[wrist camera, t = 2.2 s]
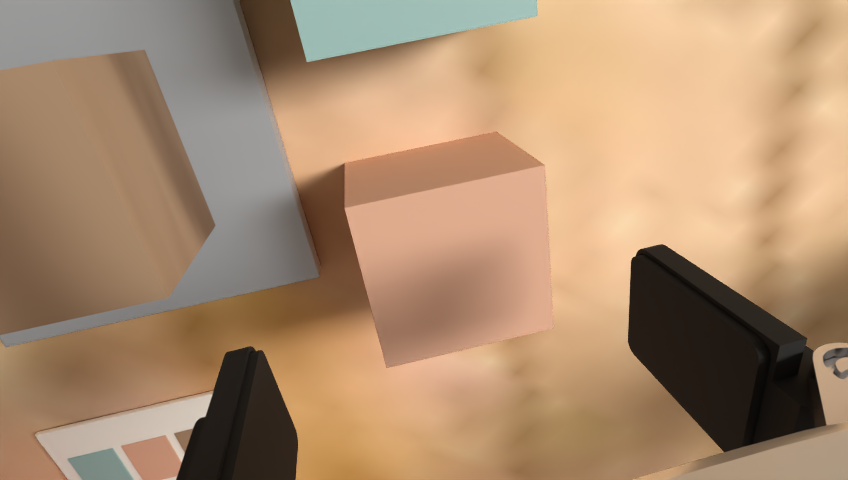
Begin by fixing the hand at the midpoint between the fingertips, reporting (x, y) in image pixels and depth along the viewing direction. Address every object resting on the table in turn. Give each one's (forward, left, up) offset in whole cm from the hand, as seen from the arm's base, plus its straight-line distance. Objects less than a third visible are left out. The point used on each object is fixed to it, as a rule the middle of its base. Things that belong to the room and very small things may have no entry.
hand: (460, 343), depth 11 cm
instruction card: (+14, +9, -8) cm, 19 cm away
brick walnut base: (+10, -5, -7) cm, 13 cm away
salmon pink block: (-1, 0, -9) cm, 9 cm away
